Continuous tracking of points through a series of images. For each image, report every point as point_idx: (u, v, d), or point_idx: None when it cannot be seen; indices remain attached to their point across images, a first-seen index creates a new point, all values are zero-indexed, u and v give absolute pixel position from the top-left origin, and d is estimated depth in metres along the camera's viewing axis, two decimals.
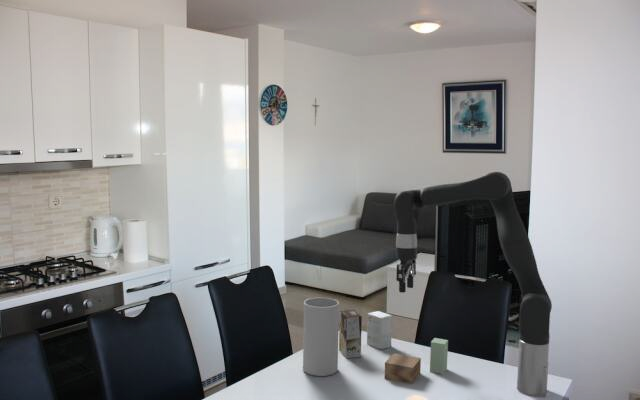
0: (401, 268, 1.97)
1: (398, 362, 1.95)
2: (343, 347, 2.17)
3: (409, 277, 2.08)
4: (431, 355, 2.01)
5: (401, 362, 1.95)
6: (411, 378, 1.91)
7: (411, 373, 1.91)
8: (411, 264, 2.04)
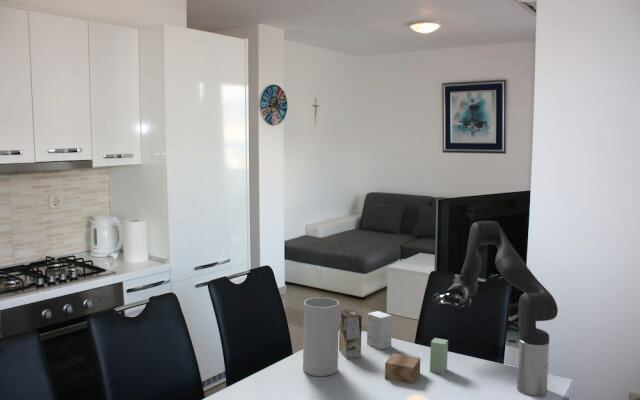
0: None
1: (399, 362, 1.95)
2: (343, 347, 2.17)
3: None
4: (431, 355, 2.01)
5: (401, 362, 1.95)
6: (412, 378, 1.91)
7: (412, 373, 1.91)
8: None
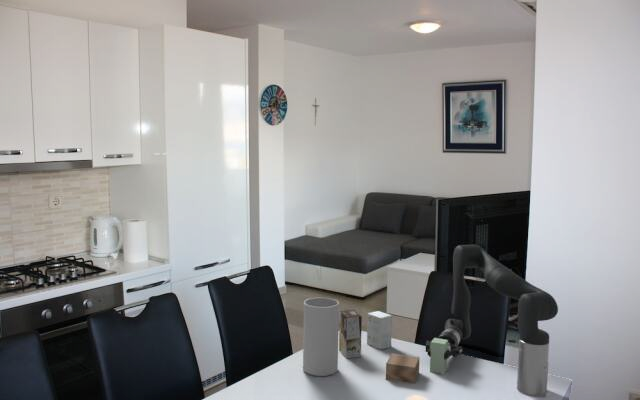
0: (426, 343, 2.11)
1: (399, 362, 1.95)
2: (343, 347, 2.17)
3: None
4: (431, 355, 2.01)
5: (402, 362, 1.95)
6: (413, 378, 1.92)
7: (413, 373, 1.91)
8: None
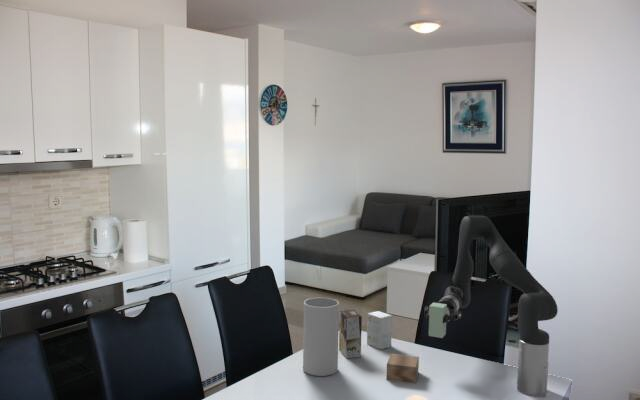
0: None
1: (400, 362, 1.95)
2: (343, 347, 2.17)
3: None
4: (430, 319, 2.00)
5: (402, 362, 1.95)
6: (414, 378, 1.92)
7: (414, 373, 1.92)
8: None
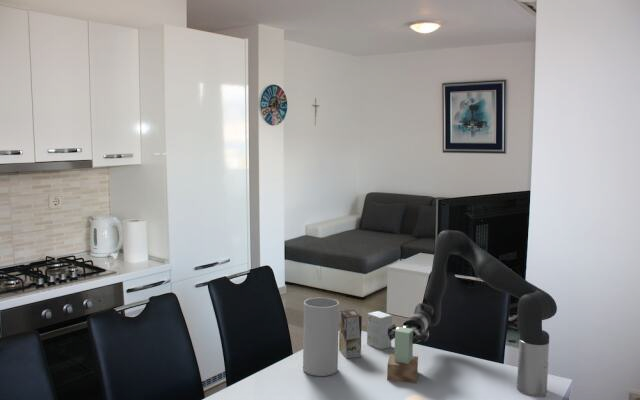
0: None
1: None
2: (343, 347, 2.17)
3: None
4: (396, 344, 1.95)
5: None
6: (415, 377, 1.92)
7: (415, 372, 1.92)
8: None
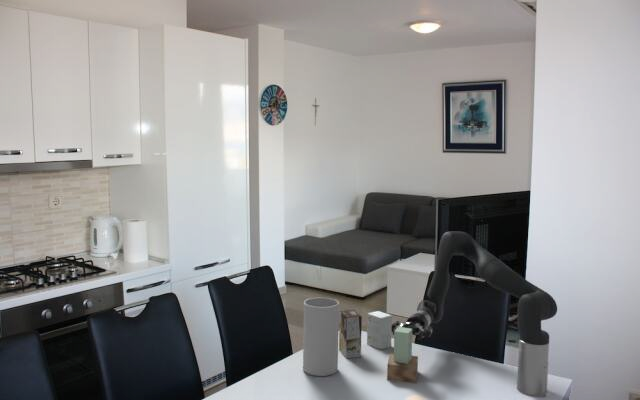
0: None
1: None
2: (343, 347, 2.17)
3: None
4: (395, 345, 1.95)
5: None
6: (415, 377, 1.92)
7: (415, 372, 1.92)
8: None
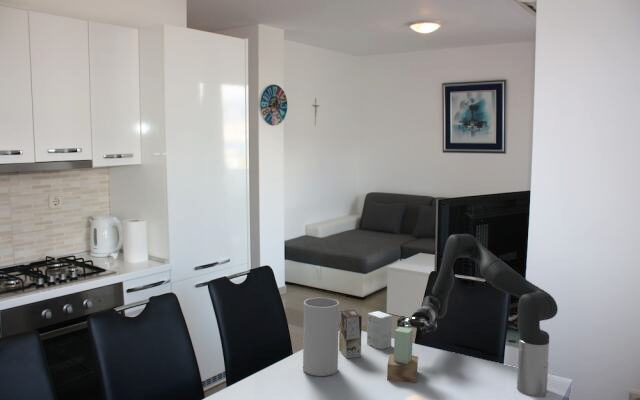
0: None
1: None
2: (343, 347, 2.17)
3: None
4: (395, 344, 1.96)
5: None
6: (415, 377, 1.92)
7: (415, 372, 1.92)
8: None
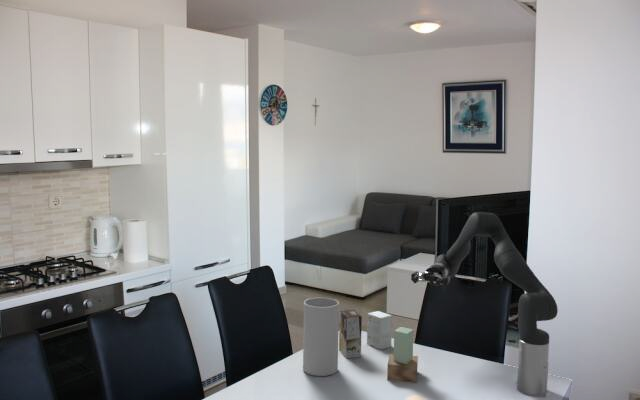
0: None
1: None
2: (343, 347, 2.17)
3: None
4: (395, 344, 1.96)
5: None
6: (415, 377, 1.92)
7: (415, 372, 1.92)
8: (434, 273, 2.19)
